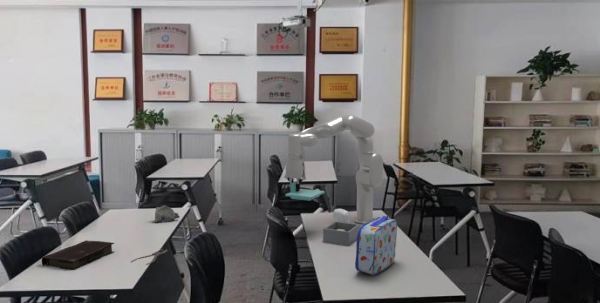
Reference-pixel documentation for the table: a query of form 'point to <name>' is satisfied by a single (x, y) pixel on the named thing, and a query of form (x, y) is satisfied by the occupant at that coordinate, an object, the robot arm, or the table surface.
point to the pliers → (153, 255)
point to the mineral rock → (165, 214)
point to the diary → (78, 255)
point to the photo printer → (341, 216)
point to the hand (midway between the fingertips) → (295, 190)
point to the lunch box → (376, 245)
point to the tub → (340, 233)
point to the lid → (303, 193)
